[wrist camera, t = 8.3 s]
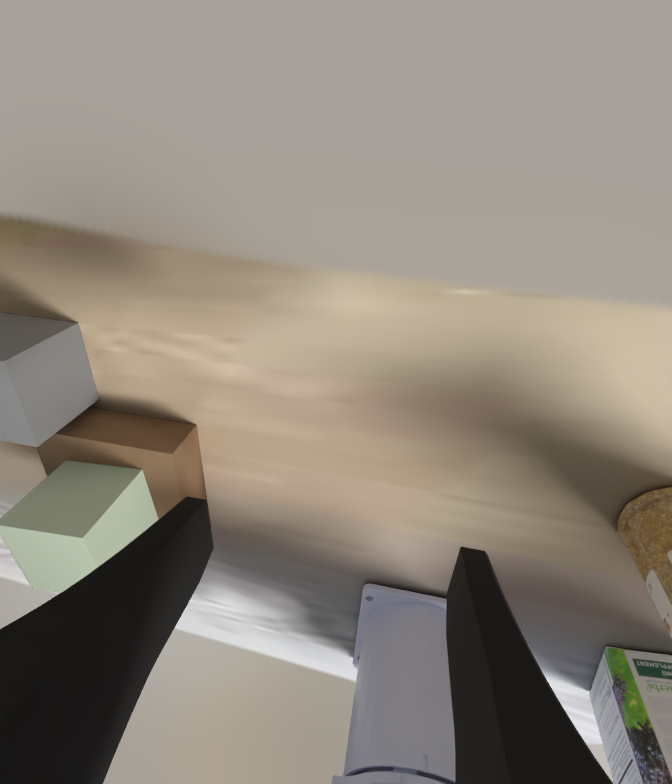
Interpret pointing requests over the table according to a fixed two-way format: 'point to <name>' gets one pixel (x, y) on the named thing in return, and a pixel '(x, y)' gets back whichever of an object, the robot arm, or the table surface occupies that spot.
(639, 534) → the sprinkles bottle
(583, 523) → the table surface
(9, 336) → the grey block
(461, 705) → the robot arm
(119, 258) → the table surface
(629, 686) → the syrup box
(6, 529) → the sage block
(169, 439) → the walnut block
